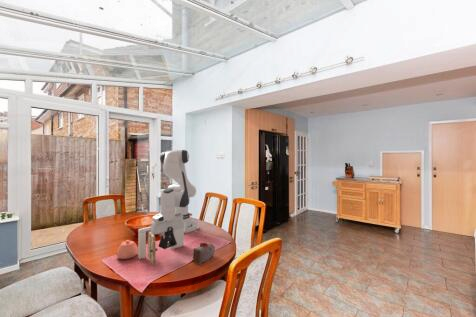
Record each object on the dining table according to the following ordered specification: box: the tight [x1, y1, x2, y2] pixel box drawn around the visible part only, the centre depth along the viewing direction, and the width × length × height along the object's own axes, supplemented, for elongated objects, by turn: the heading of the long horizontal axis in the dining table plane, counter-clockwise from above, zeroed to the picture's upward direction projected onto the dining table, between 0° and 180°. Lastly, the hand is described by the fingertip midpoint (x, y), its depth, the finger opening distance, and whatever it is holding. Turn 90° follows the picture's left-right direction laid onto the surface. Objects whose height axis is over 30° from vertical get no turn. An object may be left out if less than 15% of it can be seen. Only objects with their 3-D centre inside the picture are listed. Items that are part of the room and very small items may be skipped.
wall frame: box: [137, 220, 185, 260], centre depth 145 cm, size 30×2×18 cm, turn 134°
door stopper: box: [158, 227, 177, 250], centre depth 135 cm, size 9×6×12 cm, turn 141°
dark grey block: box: [192, 241, 216, 265], centre depth 135 cm, size 14×8×10 cm, turn 150°
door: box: [147, 230, 158, 266], centre depth 133 cm, size 14×4×16 cm, turn 34°
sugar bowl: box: [116, 239, 138, 261], centre depth 138 cm, size 12×14×10 cm
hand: (167, 238), depth 135 cm, fingers closed on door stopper, 3 cm apart
